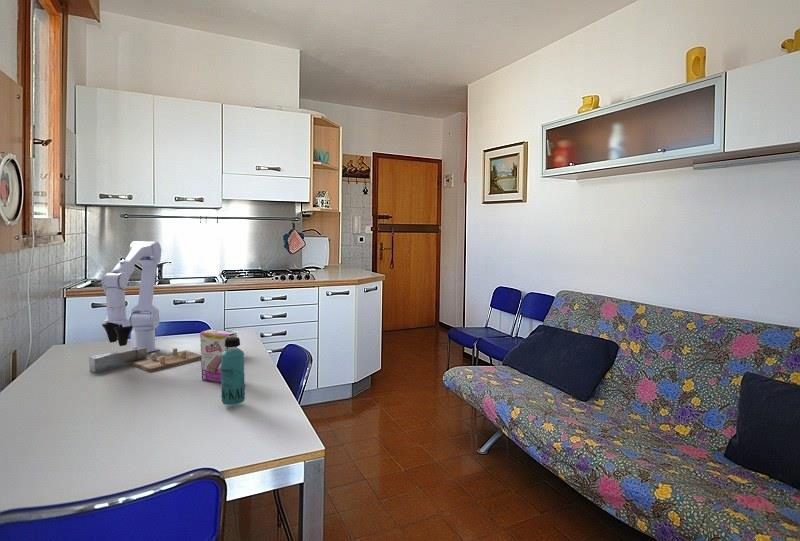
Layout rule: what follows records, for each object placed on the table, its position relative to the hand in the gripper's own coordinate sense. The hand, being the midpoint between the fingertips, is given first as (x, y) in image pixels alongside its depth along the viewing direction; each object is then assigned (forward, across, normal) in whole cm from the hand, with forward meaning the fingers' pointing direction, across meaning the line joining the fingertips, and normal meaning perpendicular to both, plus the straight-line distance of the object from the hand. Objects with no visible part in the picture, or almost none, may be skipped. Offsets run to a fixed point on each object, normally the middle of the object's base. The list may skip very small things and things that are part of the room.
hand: (118, 343), depth 167 cm
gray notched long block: (+8, 0, 0) cm, 8 cm away
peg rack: (+8, +10, +13) cm, 18 cm away
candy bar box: (+8, +42, +13) cm, 45 cm away
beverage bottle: (+8, +64, +3) cm, 65 cm away
